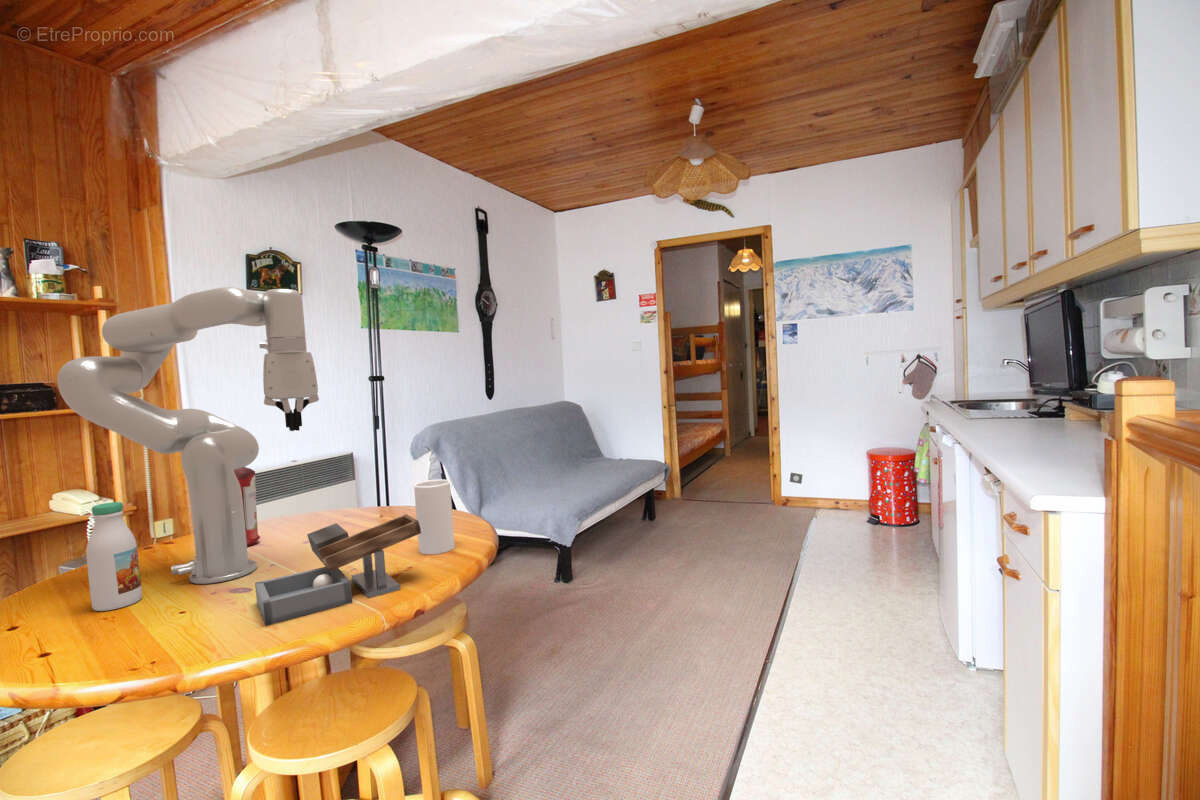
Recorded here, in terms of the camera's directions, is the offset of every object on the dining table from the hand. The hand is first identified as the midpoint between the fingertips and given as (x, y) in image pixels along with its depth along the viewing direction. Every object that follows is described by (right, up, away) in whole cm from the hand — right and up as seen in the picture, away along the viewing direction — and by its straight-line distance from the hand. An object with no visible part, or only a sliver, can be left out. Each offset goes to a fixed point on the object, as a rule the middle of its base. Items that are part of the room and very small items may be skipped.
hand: (294, 430), depth 128 cm
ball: (+14, -29, -16) cm, 36 cm away
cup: (+28, -29, +11) cm, 42 cm away
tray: (+11, -32, -18) cm, 38 cm away
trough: (+19, -23, -7) cm, 30 cm away
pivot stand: (+22, -31, -11) cm, 39 cm away
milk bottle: (-28, -34, -13) cm, 46 cm away
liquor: (-25, -31, +24) cm, 47 cm away
